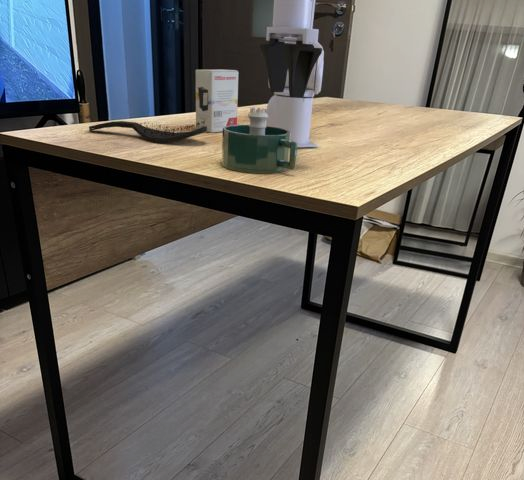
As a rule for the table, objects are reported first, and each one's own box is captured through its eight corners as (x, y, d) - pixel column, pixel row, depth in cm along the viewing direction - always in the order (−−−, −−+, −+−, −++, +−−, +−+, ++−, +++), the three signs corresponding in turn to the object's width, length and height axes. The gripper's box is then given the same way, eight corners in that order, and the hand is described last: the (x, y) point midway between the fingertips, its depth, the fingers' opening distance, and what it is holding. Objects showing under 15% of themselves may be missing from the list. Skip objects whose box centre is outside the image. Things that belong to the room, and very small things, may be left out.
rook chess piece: (238, 163, 85) (240, 109, 81) (246, 158, 89) (248, 106, 85) (265, 167, 84) (268, 111, 80) (272, 161, 88) (275, 108, 84)
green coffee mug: (208, 163, 86) (208, 127, 83) (254, 157, 93) (256, 123, 90) (270, 180, 78) (272, 140, 76) (315, 172, 85) (319, 135, 82)
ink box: (221, 126, 121) (223, 68, 115) (238, 130, 119) (240, 70, 113) (194, 129, 116) (194, 68, 110) (211, 133, 113) (211, 70, 107)
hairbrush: (100, 113, 109) (213, 118, 102) (102, 132, 111) (214, 139, 104) (75, 117, 102) (195, 123, 95) (78, 138, 104) (196, 145, 97)
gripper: (341, -6, 75) (329, 100, 82) (296, -3, 86) (290, 90, 93) (296, -11, 72) (288, 99, 79) (256, -7, 84) (252, 89, 91)
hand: (286, 94), depth 86 cm, fingers open, 7 cm apart
